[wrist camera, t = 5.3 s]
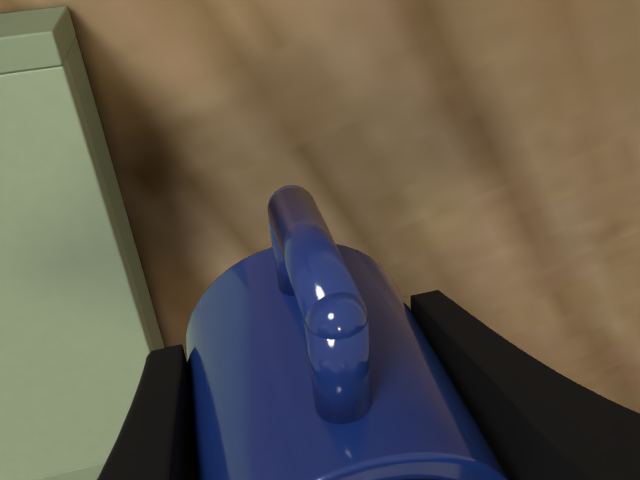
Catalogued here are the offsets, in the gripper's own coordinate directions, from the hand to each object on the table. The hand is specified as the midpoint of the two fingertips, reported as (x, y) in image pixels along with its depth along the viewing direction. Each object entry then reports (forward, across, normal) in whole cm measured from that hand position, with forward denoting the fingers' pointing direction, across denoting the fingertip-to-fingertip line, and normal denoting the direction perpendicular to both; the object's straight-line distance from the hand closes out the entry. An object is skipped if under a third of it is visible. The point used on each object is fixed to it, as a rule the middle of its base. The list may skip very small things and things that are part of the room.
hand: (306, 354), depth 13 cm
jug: (+1, 0, 0) cm, 1 cm away
